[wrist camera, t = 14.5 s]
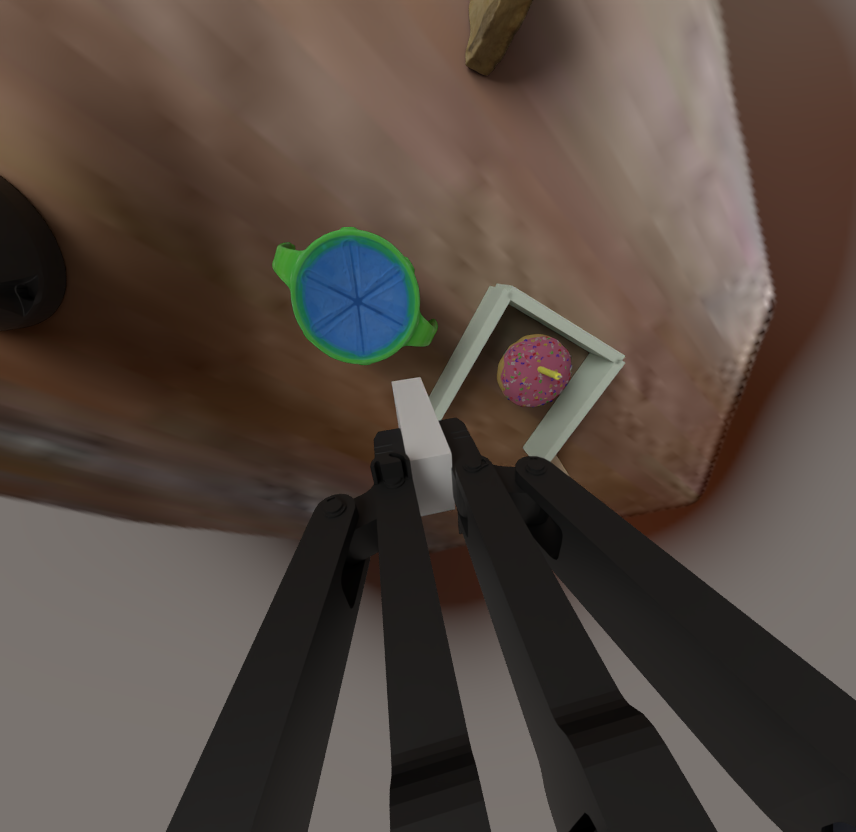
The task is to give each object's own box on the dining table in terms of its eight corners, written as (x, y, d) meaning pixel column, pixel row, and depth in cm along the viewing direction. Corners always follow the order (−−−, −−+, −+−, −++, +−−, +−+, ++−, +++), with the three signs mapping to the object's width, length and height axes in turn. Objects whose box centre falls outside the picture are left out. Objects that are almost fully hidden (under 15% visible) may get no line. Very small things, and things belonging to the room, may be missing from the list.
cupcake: (476, 349, 39) (510, 379, 28) (539, 314, 38) (598, 332, 27) (502, 403, 43) (541, 449, 32) (560, 373, 42) (620, 409, 31)
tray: (529, 450, 47) (544, 469, 42) (424, 404, 41) (429, 420, 37) (602, 348, 41) (628, 358, 37) (492, 280, 36) (507, 282, 32)
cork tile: (538, 489, 51) (541, 494, 50) (524, 469, 49) (527, 473, 47) (565, 472, 50) (569, 476, 49) (552, 451, 48) (556, 455, 47)
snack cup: (276, 294, 34) (235, 304, 25) (321, 198, 31) (293, 169, 22) (399, 369, 39) (403, 399, 30) (448, 293, 36) (469, 301, 27)
